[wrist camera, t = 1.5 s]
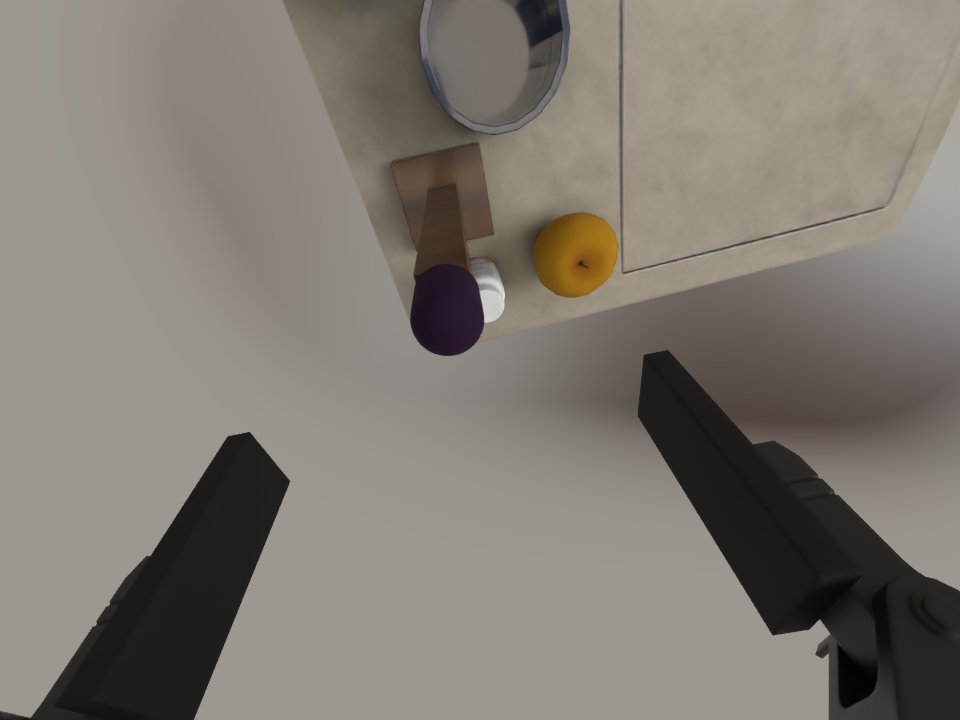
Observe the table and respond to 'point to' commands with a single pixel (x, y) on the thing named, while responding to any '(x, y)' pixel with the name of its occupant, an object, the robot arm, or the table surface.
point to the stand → (444, 204)
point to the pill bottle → (489, 288)
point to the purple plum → (447, 310)
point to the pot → (494, 58)
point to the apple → (575, 254)
